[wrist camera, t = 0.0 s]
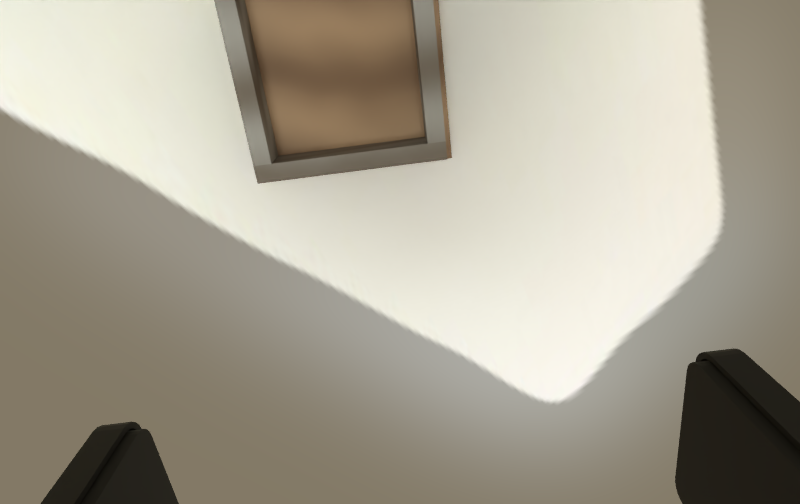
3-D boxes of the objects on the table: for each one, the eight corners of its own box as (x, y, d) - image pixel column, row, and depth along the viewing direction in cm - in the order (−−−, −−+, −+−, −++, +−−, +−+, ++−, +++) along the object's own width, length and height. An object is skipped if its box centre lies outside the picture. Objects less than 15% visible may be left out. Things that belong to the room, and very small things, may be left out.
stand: (214, -33, 33) (195, -41, 30) (430, -63, 33) (436, -74, 30) (263, 178, 39) (251, 192, 35) (449, 154, 39) (456, 166, 35)
